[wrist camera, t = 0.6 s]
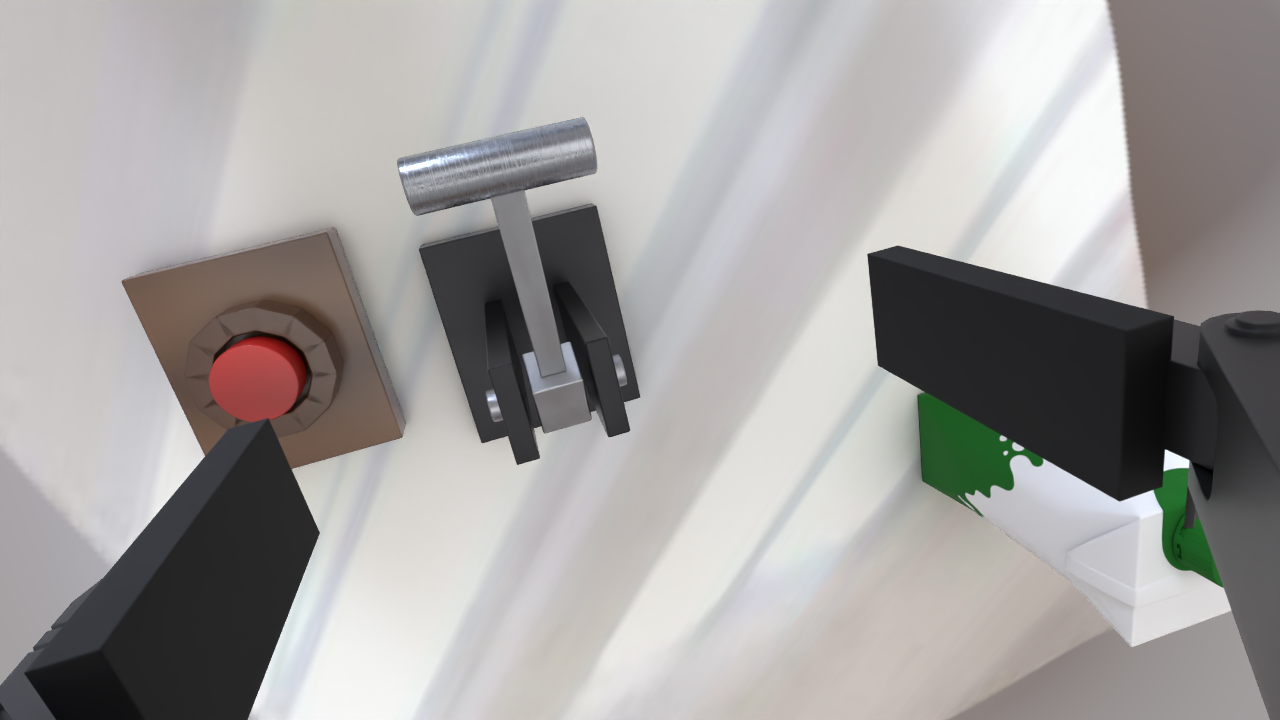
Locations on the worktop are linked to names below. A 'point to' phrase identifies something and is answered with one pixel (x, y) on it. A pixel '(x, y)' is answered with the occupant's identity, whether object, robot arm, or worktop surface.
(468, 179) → the tap lever
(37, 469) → the worktop surface
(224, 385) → the button
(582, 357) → the black lever stand
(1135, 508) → the milk carton
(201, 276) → the button box
